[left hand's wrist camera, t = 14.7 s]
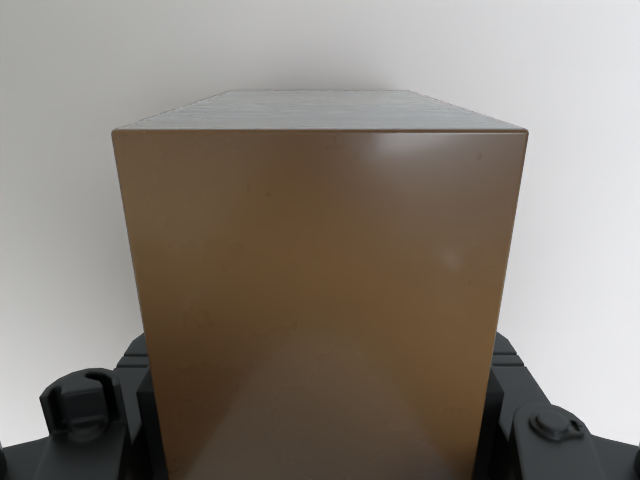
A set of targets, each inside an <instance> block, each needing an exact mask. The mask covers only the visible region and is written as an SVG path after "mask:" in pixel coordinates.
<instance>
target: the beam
mask: <svg viewBox="0 0 640 480" xmlns="http://www.w3.org/2000/svg"><path fill="white" fill-rule="evenodd" d="M528 135H529V133H528V130H527V129H525V128H522V127H519V126H516V125H513V124H510V123H506V122H503V121H500V120H497V119H494V118H491V117H488V116H485V115H482V114H479V113H476V112H473V111H470V110H467V109H464V108H461V107H458V106H455V105H452V104H449V103H446V102H443V101H440V100H437V99H434V98H431V97H428V96H425V95H421V94H418V93H415V92H412V91H409V90H231V91H228V92H225V93H222V94H219V95H216V96H213V97H210V98H207V99H204V100H201V101H198V102H195V103H192V104H189V105H186V106H183V107H180V108H177V109H174V110H171V111H168V112H165V113H162V114H159V115H156V116H153V117H150V118H147V119H144V120H141V121H138V122H135V123H132V124H129V125H126V126H123V127H120V128H117V129H114V130H112V133H111V136H112V142H113V148H114V154H115V160H116V166H117V172H118V178H119V184H120V190H121V196H122V202H123V208H124V214H125V220H126V226H127V232H128V238H129V244H130V250H131V256H132V262H133V268H134V274H135V280H136V286H137V292H138V298H139V304H140V310H141V316H142V322H143V328H144V334H145V341H146V347H147V353H148V359H149V365H150V371H151V377H152V383H153V389H154V395H155V401H156V407H157V413H158V419H159V425H160V431H161V437H162V443H163V449H164V455H165V461H166V467H167V473H168V479H169V480H472V477H473V471H474V465H475V458H476V452H477V446H478V440H479V434H480V428H481V422H482V416H483V410H484V403H485V397H486V391H487V385H488V379H489V373H490V367H491V361H492V355H493V349H494V342H495V336H496V330H497V324H498V318H499V312H500V306H501V300H502V294H503V287H504V281H505V275H506V269H507V263H508V257H509V251H510V245H511V239H512V233H513V226H514V220H515V214H516V208H517V202H518V196H519V190H520V184H521V178H522V171H523V165H524V159H525V153H526V147H527V141H528Z"/></svg>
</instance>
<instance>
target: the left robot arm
mask: <svg viewBox="0 0 640 480" xmlns="http://www.w3.org/2000/svg"><path fill="white" fill-rule="evenodd" d="M39 399H40V402H41V406H42V409H43V413H44V417H45V420H46V424H47V427H48V431H49V437H45V438H42V439H39V440H35V441H31V442H26V443H22V444H18V445H13V446H9V447H5V448H2V445H1V442H0V480H169V479H168V473H167V467H166V461H165V455H164V449H163V443H162V437H161V431H160V425H159V419H158V413H157V407H156V401H155V395H154V389H153V383H152V377H151V371H150V365H149V359H148V353H147V347H146V341H145V334H144V333H143V334H142V335H140V336H139V337H137V338H136V339H135V340H133V341H132V343H131V344H130V346H129V347H128V349H127V350H126V352H125V353H124V357H122V358H121V359H120V361H119V362H118V364H117V367H116V368H114V370H113V371H112V370H108V369H104V368H88V369H84V370H80V371H76V372H72V373H70V374H68V375H66V376H64V377H61V378H59V379H58V380H56V381H55V382H53V383H52V384H51V385H49V386H48V387H47V388H46V389H45V390H44V392H43V393H42V394H41V396H40V397H39ZM472 480H640V443H639V446H635V445H630V444H626V443H622V442H618V441H613V440H609V439H605V438H601V437H598V436H595V435H591V433H590V432H589V430H588V429H587V427H586V426H585V424H584V423H583V422H582V421H581V420H580V419H578V418H577V417H576V416H575V415H574V414H572V413H570V412H569V411H567V410H565V409H563V408H561V407H559V406H555V405H552V404H551V403H550V402H549V400H548V399H547V397H546V396H545V394H544V393H543V391H542V390H541V388H540V387H539V385H538V384H537V382H536V381H535V379H534V378H533V376H532V375H531V373H530V372H529V370H528V369H527V367H524V363H523V361H522V360H521V359H520V357H519V356H518V355H517V353H516V351H515V350H514V348H513V347H512V345H511V344H510V342H509V341H508V339H506V338H505V337H504V336H502V335H501V334H500V333H498V332H497V331H496V336H495V342H494V349H493V355H492V361H491V367H490V373H489V379H488V385H487V391H486V397H485V403H484V410H483V416H482V422H481V428H480V434H479V440H478V446H477V452H476V458H475V465H474V471H473V477H472Z"/></svg>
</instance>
